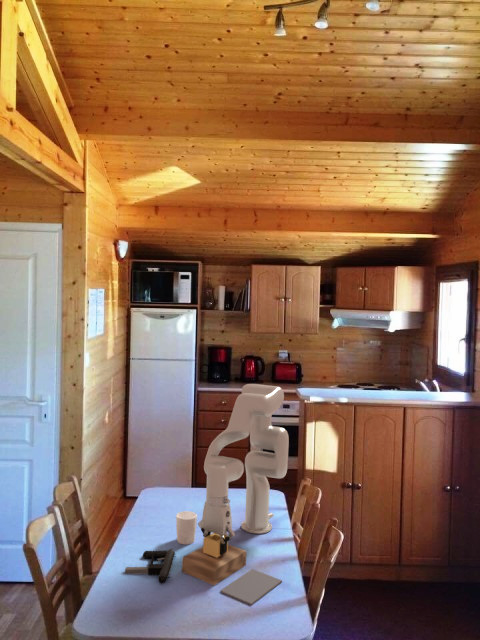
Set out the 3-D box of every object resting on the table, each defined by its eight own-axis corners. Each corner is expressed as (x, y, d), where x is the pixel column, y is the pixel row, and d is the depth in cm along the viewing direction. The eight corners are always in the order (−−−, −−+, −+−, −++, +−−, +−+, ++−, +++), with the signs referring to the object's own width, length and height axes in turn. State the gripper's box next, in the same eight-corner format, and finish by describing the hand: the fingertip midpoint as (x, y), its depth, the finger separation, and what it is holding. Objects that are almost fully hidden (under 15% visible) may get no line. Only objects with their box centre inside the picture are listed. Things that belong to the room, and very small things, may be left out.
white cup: (192, 546, 203) (193, 520, 203) (172, 543, 204) (173, 517, 204) (198, 537, 211) (199, 512, 210) (179, 535, 212) (180, 510, 212)
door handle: (120, 576, 175) (170, 575, 175) (134, 548, 195) (178, 547, 195) (121, 586, 175) (170, 585, 175) (134, 557, 195) (178, 556, 195)
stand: (214, 553, 198) (215, 527, 198) (245, 565, 190) (246, 538, 190) (181, 571, 183) (182, 544, 183) (214, 585, 175) (215, 556, 175)
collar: (214, 546, 191) (214, 532, 191) (227, 551, 187) (228, 537, 187) (203, 552, 186) (203, 538, 186) (216, 557, 183) (217, 543, 182)
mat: (252, 570, 186) (252, 569, 186) (281, 582, 179) (282, 580, 179) (220, 592, 171) (220, 590, 171) (251, 605, 164) (251, 603, 164)
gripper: (243, 502, 184) (242, 554, 185) (204, 490, 194) (203, 539, 195) (230, 508, 178) (228, 562, 179) (190, 496, 188) (189, 547, 189)
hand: (215, 550), depth 187 cm, fingers closed on collar, 5 cm apart
